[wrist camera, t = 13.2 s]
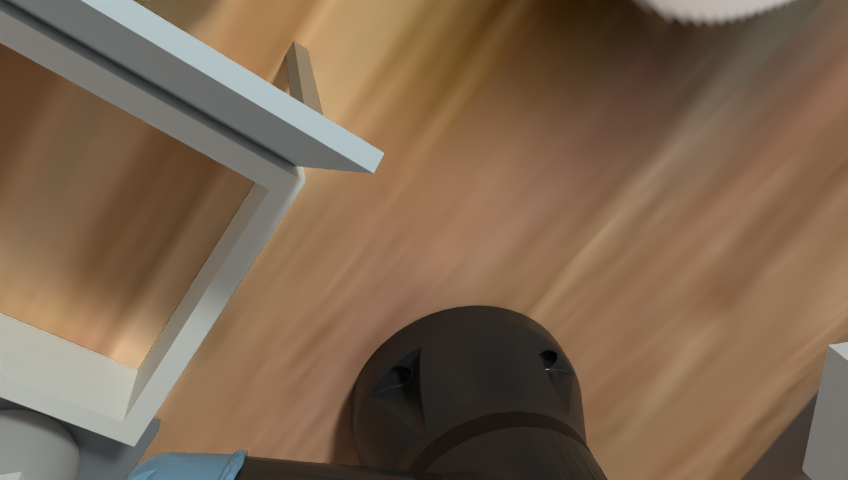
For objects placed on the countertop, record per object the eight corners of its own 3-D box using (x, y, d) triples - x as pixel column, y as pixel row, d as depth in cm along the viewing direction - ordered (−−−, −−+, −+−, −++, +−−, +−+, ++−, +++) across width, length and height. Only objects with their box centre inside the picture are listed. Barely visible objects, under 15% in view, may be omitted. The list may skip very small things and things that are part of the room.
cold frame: (147, 393, 45) (92, 613, 31) (-180, 261, 39) (-437, 465, 25) (353, 70, 40) (397, 162, 26) (11, -150, 33) (-182, -188, 19)
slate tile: (81, 542, 49) (77, 554, 48) (-97, 486, 45) (-105, 498, 44) (160, 420, 46) (158, 430, 46) (-22, 349, 42) (-28, 358, 41)
